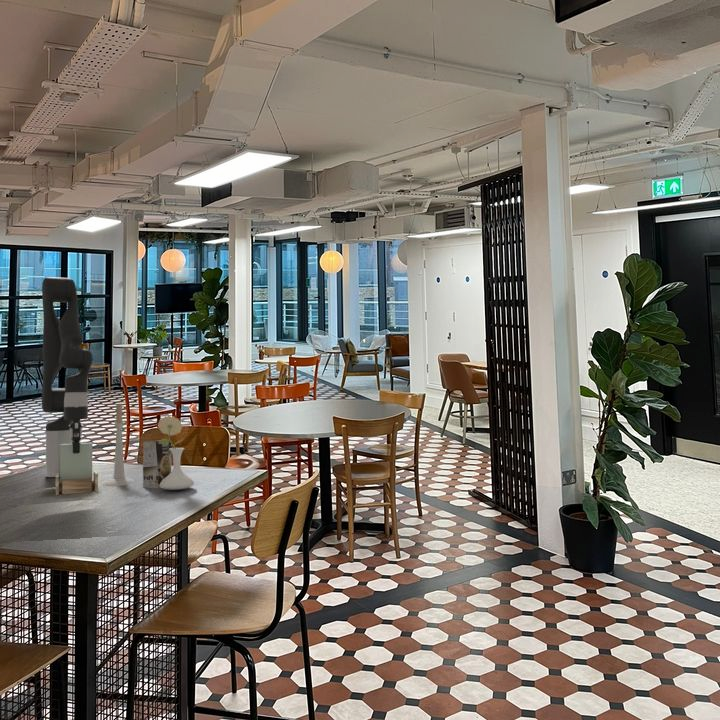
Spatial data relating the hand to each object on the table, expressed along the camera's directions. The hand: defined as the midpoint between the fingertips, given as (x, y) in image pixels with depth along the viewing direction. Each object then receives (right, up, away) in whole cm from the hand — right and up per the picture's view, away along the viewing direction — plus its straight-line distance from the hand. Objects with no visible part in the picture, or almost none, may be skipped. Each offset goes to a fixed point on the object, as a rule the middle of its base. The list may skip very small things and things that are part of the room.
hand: (75, 452), depth 216 cm
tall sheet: (0, -13, 0) cm, 13 cm away
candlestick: (+11, -14, +10) cm, 20 cm away
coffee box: (+27, -13, +5) cm, 30 cm away
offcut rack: (+1, -13, -3) cm, 13 cm away
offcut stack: (+3, -13, -5) cm, 14 cm away
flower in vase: (+35, -12, -3) cm, 37 cm away
